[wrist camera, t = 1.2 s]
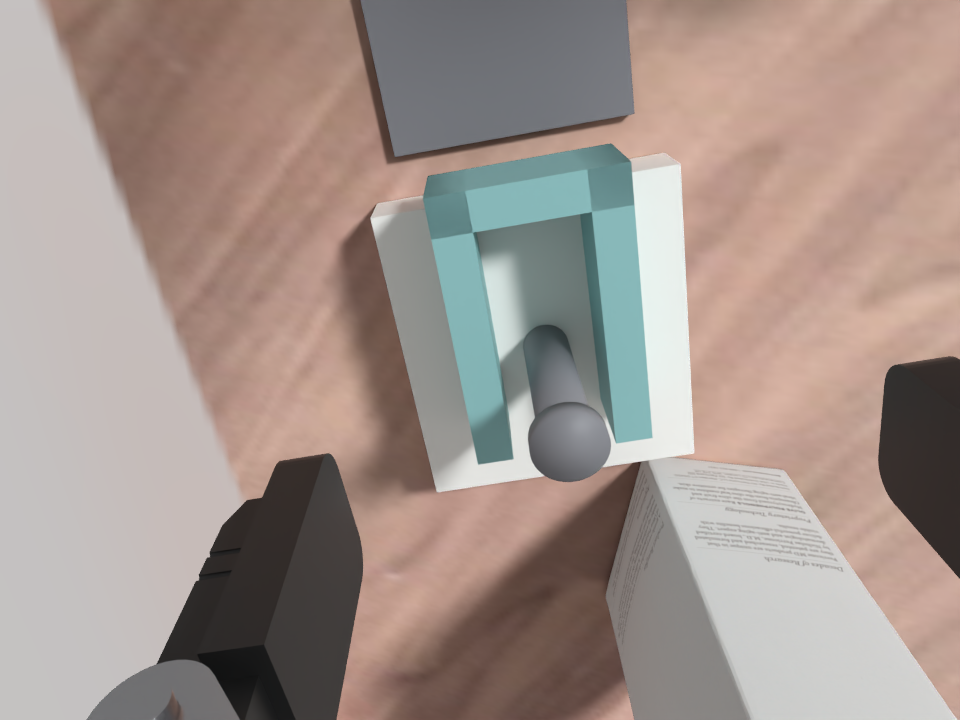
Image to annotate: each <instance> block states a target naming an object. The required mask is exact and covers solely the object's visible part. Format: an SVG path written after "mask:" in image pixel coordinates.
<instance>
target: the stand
mask: <svg viewBox="0 0 960 720" xmlns="http://www.w3.org/2000/svg"><path fill="white" fill-rule="evenodd" d="M629 160H630V161H631V166H632V179H633V191H634V204H635V217H636V230H637V243H638V256H639V269H640V282H641V295H642V308H643V321H644V333H645V346H646V359H647V372H648V385H649V398H650V411H651V424H652V437H653V438H649V439H643V440H636V441H630V442H623V443H617V444H616V442H615V439H614V436H613V433H612V430H611V428H610V425H609V422H608V419H607V416H606V413H605V410H604V407H603V405H602V402H601V398H600V389H599V380H598V371H597V362H596V353H595V344H594V335H593V326H592V317H591V309H590V300H589V291H588V282H587V273H586V264H585V255H584V246H583V237H582V228H581V219H580V214H578V215H572V216H566V217H560V218H555V219H549V220H543V221H537V222H532V223H526V224H520V225H514V226H508V227H503V228H497V229H491V230H485V231H480V232H477V237H478V243H479V249H480V254H481V260H482V266H483V271H484V277H485V282H486V288H487V294H488V299H489V305H490V310H491V316H492V322H493V327H494V333H495V339H496V344H497V350H498V355H499V361H500V367H501V372H502V378H503V383H504V389H505V395H506V400H507V406H508V412H509V420H510V429H511V438H512V448H513V457H514V459H512V460H506V461H499V462H493V463H486V464H480V465H478V462H477V457H476V453H475V448H474V443H473V438H472V433H471V428H470V424H469V419H468V414H467V409H466V404H465V400H464V395H463V390H462V385H461V380H460V375H459V371H458V366H457V361H456V356H455V351H454V347H453V342H452V337H451V332H450V327H449V322H448V318H447V313H446V308H445V303H444V298H443V294H442V289H441V284H440V279H439V274H438V269H437V265H436V260H435V255H434V250H433V245H432V241H431V236H430V231H429V226H428V221H427V216H426V212H425V207H424V202H423V195H422V196H416V197H411V198H405V199H399V200H394V201H388V202H382V203H377V205H376V207H375V209H374V212H373V214H372V216H371V218H370V219H371V223H372V227H373V231H374V235H375V240H376V244H377V248H378V252H379V256H380V260H381V264H382V268H383V272H384V277H385V281H386V285H387V289H388V293H389V297H390V301H391V305H392V310H393V314H394V318H395V322H396V326H397V330H398V334H399V338H400V343H401V347H402V351H403V355H404V359H405V363H406V367H407V371H408V375H409V380H410V384H411V388H412V392H413V396H414V400H415V404H416V408H417V413H418V417H419V421H420V425H421V429H422V433H423V437H424V441H425V446H426V450H427V454H428V458H429V462H430V466H431V470H432V474H433V478H434V483H435V487H436V491H437V492H443V491H449V490H456V489H463V488H469V487H476V486H482V485H489V484H496V483H502V482H509V481H515V480H522V479H529V478H535V477H542V476H546V477H548V478H550V479H553V480H556V481H562V482H573V481H579V480H583V479H585V478H588V477H590V476H592V475H593V474H595V473H596V472H597V471H599V470H600V469H601V468H602V467H608V466H614V465H621V464H627V463H634V462H641V461H647V460H654V459H660V458H667V457H673V456H680V455H687V454H693V453H694V436H693V415H692V394H691V373H690V353H689V332H688V311H687V290H686V269H685V248H684V227H683V206H682V185H681V165H680V163H679V162H677V161H676V160H674V159H673V158H672V157H670V156H669V155H667V154H666V153H660V154H654V155H648V156H643V157H637V158H631V159H629Z"/></svg>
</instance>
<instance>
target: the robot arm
mask: <svg viewBox="0 0 960 720" xmlns="http://www.w3.org/2000/svg"><path fill="white" fill-rule="evenodd" d="M878 462H879V471H880V475H881V479H882V482H883V485H884V487H885V490H886V492H887V494H888V495H889V497H890V499H891V500H892V501H893V503H894V504H895V505H896V506H897V507H898V508H899V509H900V511H901V512H902V513H903V514H904V515H905V516H906V518H907V519H908V520H909V521H910V522H911V523H912V524H913V526H914V527H915V528H916V529H917V530H918V531H919V532H920V534H921V535H922V536H923V537H924V538H925V539H926V541H927V542H928V543H929V544H930V545H931V546H932V547H933V549H934V550H935V551H936V552H937V553H938V554H939V555H940V557H941V558H942V559H943V560H944V561H945V562H946V563H947V565H948V566H949V567H950V568H951V569H952V570H953V572H954V573H955V574H956V575H957V576H958V577H959V578H960V359H958V358H956V357H950V356H948V357H942V358H936V359H929V360H923V361H917V362H910V363H904V364H898V365H894V366H892V367H891V368H890V369H889V370H888V372H887V374H886V378H885V384H884V395H883V407H882V419H881V431H880V443H879V455H878ZM362 576H363V556H362V547H361V541H360V537H359V533H358V530H357V527H356V524H355V520H354V517H353V514H352V511H351V508H350V504H349V501H348V498H347V495H346V492H345V489H344V485H343V482H342V479H341V476H340V473H339V469H338V466H337V464H336V461H335V459H334V458H333V456H332V455H331V454H328V453H327V454H321V455H315V456H308V457H302V458H296V459H290V460H283V461H279V462H278V463H277V464H276V466H275V469H274V471H273V473H272V476H271V478H270V480H269V483H268V485H267V488H266V490H265V492H264V495H263V497H262V498H258V499H252V500H247V501H246V502H245V503H244V504H243V505H242V506H241V507H240V508H239V509H238V510H237V511H236V512H235V513H234V514H233V515H232V516H231V517H230V518H229V519H228V520H227V521H226V522H225V523H224V524H223V526H222V527H221V530H220V532H219V534H218V536H217V538H216V540H215V542H214V544H213V547H212V548H211V551H210V558H207V559H206V561H205V563H204V565H203V568H202V570H201V572H200V574H199V581H196V582H195V584H194V587H193V589H192V591H191V593H190V595H189V597H188V599H187V601H186V603H185V605H184V608H183V610H182V612H181V614H180V616H179V618H178V620H177V622H176V624H175V627H174V629H173V631H172V633H171V635H170V637H169V639H168V641H167V643H166V646H165V648H164V650H163V652H162V654H161V656H160V658H159V661H158V663H157V665H154V666H152V667H149V668H147V669H144V670H142V671H140V672H139V673H137V674H135V675H133V676H131V677H130V678H128V679H127V680H125V681H124V682H122V683H121V684H120V685H118V686H117V687H116V688H115V689H113V690H112V691H111V692H110V693H109V694H108V695H107V696H106V697H105V698H104V699H103V700H102V701H101V702H100V703H99V704H98V705H97V706H96V708H95V709H94V710H93V711H92V713H91V714H90V716H89V717H88V719H87V720H336V719H337V713H338V708H339V702H340V697H341V691H342V686H343V681H344V675H345V670H346V664H347V659H348V653H349V648H350V642H351V637H352V631H353V626H354V620H355V615H356V609H357V604H358V599H359V593H360V588H361V582H362Z"/></svg>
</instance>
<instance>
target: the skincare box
mask: <svg viewBox="0 0 960 720" xmlns="http://www.w3.org/2000/svg"><path fill="white" fill-rule="evenodd" d="M606 600H607V604H608V608H609V612H610V616H611V620H612V625H613V629H614V633H615V637H616V642H617V646H618V650H619V655H620V659H621V663H622V668H623V672H624V677H625V681H626V685H627V690H628V694H629V698H630V703H631V707H632V711H633V716H634V720H957V718H956V717H955V716H954V715H953V713H952V712H951V710H950V709H949V707H948V706H947V704H946V703H945V701H944V700H943V699H942V697H941V696H940V694H939V693H938V691H937V690H936V688H935V687H934V686H933V684H932V683H931V681H930V680H929V678H928V677H927V676H926V674H925V673H924V671H923V670H922V668H921V667H920V666H919V664H918V663H917V661H916V660H915V658H914V657H913V655H912V654H911V652H910V651H909V650H908V648H907V647H906V645H905V644H904V643H903V641H902V640H901V638H900V637H899V635H898V634H897V632H896V631H895V629H894V628H893V626H892V625H891V624H890V622H889V621H888V619H887V618H886V616H885V615H884V613H883V612H882V610H881V609H880V607H879V606H878V605H877V603H876V602H875V601H874V599H873V598H872V596H871V595H870V594H869V592H868V591H867V589H866V588H865V586H864V585H863V583H862V582H861V580H860V579H859V578H858V576H857V575H856V573H855V572H854V570H853V569H852V567H851V566H850V565H849V563H848V562H847V560H846V559H845V557H844V556H843V554H842V553H841V552H840V550H839V549H838V547H837V546H836V544H835V543H834V541H833V540H832V539H831V537H830V536H829V534H828V533H827V531H826V530H825V528H824V527H823V526H822V524H821V523H820V522H819V520H818V518H817V517H816V515H815V514H814V513H813V511H812V510H811V508H810V507H809V505H808V504H807V503H806V501H805V500H804V498H803V497H802V495H801V494H800V492H799V491H798V489H797V488H796V486H795V485H794V484H793V482H792V481H791V479H790V478H789V477H788V475H787V473H786V472H785V471H784V470H781V469H775V468H765V467H756V466H747V465H738V464H729V463H720V462H711V461H702V460H693V459H685V458H676V457H667V458H660V459H654V460H647V461H641V465H640V468H639V472H638V476H637V479H636V483H635V486H634V490H633V494H632V497H631V501H630V505H629V508H628V512H627V516H626V519H625V523H624V527H623V531H622V534H621V538H620V542H619V545H618V549H617V553H616V557H615V560H614V564H613V568H612V572H611V575H610V579H609V583H608V587H607V592H606Z"/></svg>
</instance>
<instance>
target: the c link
mask: <svg viewBox="0 0 960 720" xmlns="http://www.w3.org/2000/svg"><path fill="white" fill-rule="evenodd" d="M423 202H424V207H425V212H426V216H427V221H428V226H429V231H430V236H431V241H432V245H433V250H434V255H435V260H436V265H437V269H438V274H439V279H440V284H441V289H442V294H443V298H444V303H445V308H446V313H447V318H448V322H449V327H450V332H451V337H452V342H453V347H454V351H455V356H456V361H457V366H458V371H459V375H460V380H461V385H462V390H463V395H464V400H465V404H466V409H467V414H468V419H469V424H470V428H471V433H472V438H473V443H474V448H475V453H476V457H477V462H478V465H480V464H486V463H493V462H499V461H506V460H512V459H514V457H513V448H512V438H511V429H510V420H509V412H508V406H507V400H506V395H505V389H504V383H503V378H502V372H501V367H500V361H499V355H498V350H497V344H496V339H495V333H494V327H493V322H492V316H491V310H490V305H489V299H488V294H487V288H486V282H485V277H484V271H483V266H482V260H481V254H480V249H479V243H478V237H477V232H480V231H485V230H491V229H497V228H503V227H508V226H514V225H520V224H526V223H532V222H537V221H543V220H549V219H555V218H560V217H566V216H572V215H578V214H580V219H581V228H582V237H583V246H584V255H585V264H586V273H587V282H588V291H589V300H590V309H591V317H592V326H593V335H594V344H595V353H596V362H597V371H598V380H599V389H600V398H601V402H602V405H603V407H604V410H605V413H606V416H607V419H608V422H609V425H610V428H611V430H612V433H613V436H614V439H615V442H616V444H617V443H623V442H630V441H636V440H643V439H649V438H653V437H652V424H651V411H650V398H649V385H648V372H647V359H646V346H645V333H644V321H643V308H642V295H641V282H640V269H639V256H638V243H637V230H636V217H635V204H634V191H633V179H632V166H631V161H630V160H629V159H628V158H627V157H626V156H624V155H623V154H622V153H621V152H620V151H619V150H618V149H617V148H616V147H615V146H613V145H612V144H605V145H600V146H594V147H588V148H583V149H577V150H572V151H566V152H560V153H555V154H549V155H544V156H538V157H532V158H527V159H521V160H515V161H510V162H504V163H499V164H493V165H487V166H482V167H476V168H471V169H465V170H459V171H454V172H448V173H443V174H437V175H431V176H428V178H427V182H426V187H425V191H424V195H423Z"/></svg>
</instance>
